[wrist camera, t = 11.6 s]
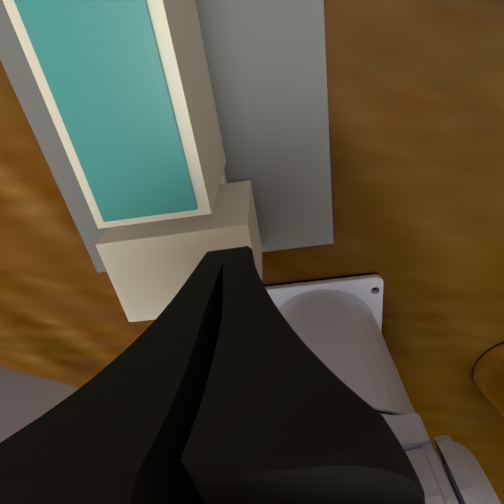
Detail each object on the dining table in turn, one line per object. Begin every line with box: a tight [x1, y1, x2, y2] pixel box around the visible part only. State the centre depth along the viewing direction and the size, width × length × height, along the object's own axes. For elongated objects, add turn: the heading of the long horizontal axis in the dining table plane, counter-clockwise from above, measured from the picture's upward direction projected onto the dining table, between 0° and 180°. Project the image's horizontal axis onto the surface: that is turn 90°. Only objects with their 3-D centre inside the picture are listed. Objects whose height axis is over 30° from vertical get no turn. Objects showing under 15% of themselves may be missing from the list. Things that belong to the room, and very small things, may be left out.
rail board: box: [0, 0, 334, 322], centre depth 14 cm, size 18×14×6 cm
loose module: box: [2, 0, 226, 229], centre depth 13 cm, size 7×4×6 cm, turn 9°
